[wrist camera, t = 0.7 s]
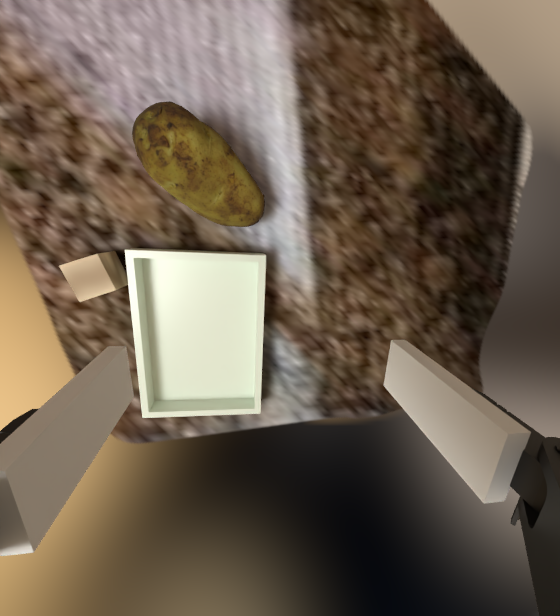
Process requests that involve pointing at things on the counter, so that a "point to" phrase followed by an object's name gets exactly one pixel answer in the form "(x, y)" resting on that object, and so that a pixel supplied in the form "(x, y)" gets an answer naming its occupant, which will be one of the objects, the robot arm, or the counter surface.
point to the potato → (196, 165)
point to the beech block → (95, 275)
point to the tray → (197, 330)
